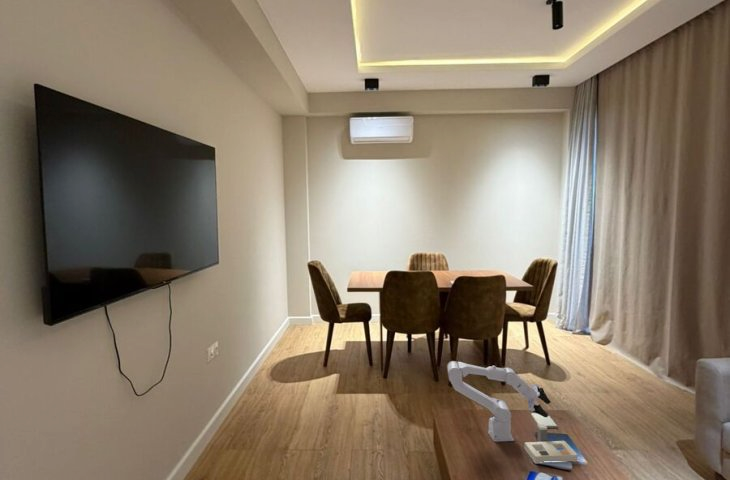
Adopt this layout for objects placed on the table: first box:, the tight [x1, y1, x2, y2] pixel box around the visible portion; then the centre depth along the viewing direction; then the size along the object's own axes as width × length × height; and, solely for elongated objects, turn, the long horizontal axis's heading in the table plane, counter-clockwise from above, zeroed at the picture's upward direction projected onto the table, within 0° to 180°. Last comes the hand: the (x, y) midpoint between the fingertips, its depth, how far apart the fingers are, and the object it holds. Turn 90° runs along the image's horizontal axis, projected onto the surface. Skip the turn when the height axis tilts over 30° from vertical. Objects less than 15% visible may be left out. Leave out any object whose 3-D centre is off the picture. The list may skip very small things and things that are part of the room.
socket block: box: [524, 440, 579, 464], centre depth 162 cm, size 18×10×3 cm, turn 92°
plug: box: [536, 424, 548, 442], centre depth 171 cm, size 3×3×8 cm
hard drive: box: [531, 412, 559, 429], centre depth 189 cm, size 2×8×12 cm
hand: (547, 409), depth 173 cm, fingers open, 7 cm apart
